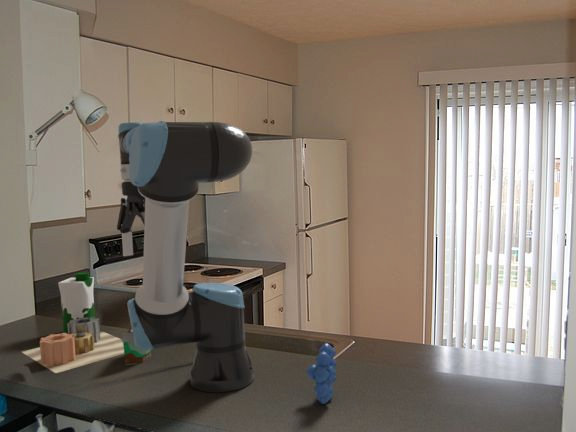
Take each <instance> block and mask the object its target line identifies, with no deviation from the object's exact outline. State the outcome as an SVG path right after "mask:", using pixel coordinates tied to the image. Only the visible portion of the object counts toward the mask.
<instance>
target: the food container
mask: <svg viewBox="0 0 576 432" xmlns="http://www.w3.org/2000/svg"><path fill="white" fill-rule="evenodd" d="M121 335H122V337H121V339H122V342H123V346H124V354H123V355H124V365H125V366H131V365H132V366H133V365H137V364H141V363H144V362H147V361H149V360H150V359H151V357H152V350H140V349H138V348H137V347H136V345H135V342H134V337H133V332H132V327H131V328H129V330H128V331H127V333H122V334H121Z"/></svg>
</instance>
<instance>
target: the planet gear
mask: <svg viewBox="0 0 576 432" xmlns="http://www.w3.org/2000/svg"><path fill="white" fill-rule="evenodd" d="M39 347H40V353H41V364H42V366H43V365H45V364H46V365H49V366H54V365H59V364H67V362H69V361H72V360H75V359H76V353H75V339H74V334H66V333H63V332H62V333H57V334H54V333H51V334H49V335H48V336H44V337H41V338H39ZM41 364H40V365H41Z"/></svg>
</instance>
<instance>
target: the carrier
mask: <svg viewBox="0 0 576 432" xmlns="http://www.w3.org/2000/svg"><path fill="white" fill-rule="evenodd" d="M74 339H75V353H76V359H75V360H72V361H69V362H67V364H59V365H54V366H49V365H46V364H45V365H42V364H41V353H40V346H39V347H35V348H32V349H27V350H22V351H21V353H22V354H24V355H26V356H27V357H28V358H29V359H32V360H34V361H35V362H37V363H38V364H39V365H42V366H43V367H45V368H46V369H48V370H49V371H51V372H53V373H54V374H58V373H59V374H60V373H62V372H66V371H68V370H73V369H76V368H79V367H83V366H87V365H90V364H93V363H97V362H101V361H104V360H108V359H111V358H114V357H118V356H121V355H124V346H123V342H122V338H119V337H116V336H114V335H112V334H110V333H107V332H106V331H105V332H104V331H100V339H99V341H98V342H97V343H96V342H94V335H93V333H87V332H83V333H76V334H74Z"/></svg>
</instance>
